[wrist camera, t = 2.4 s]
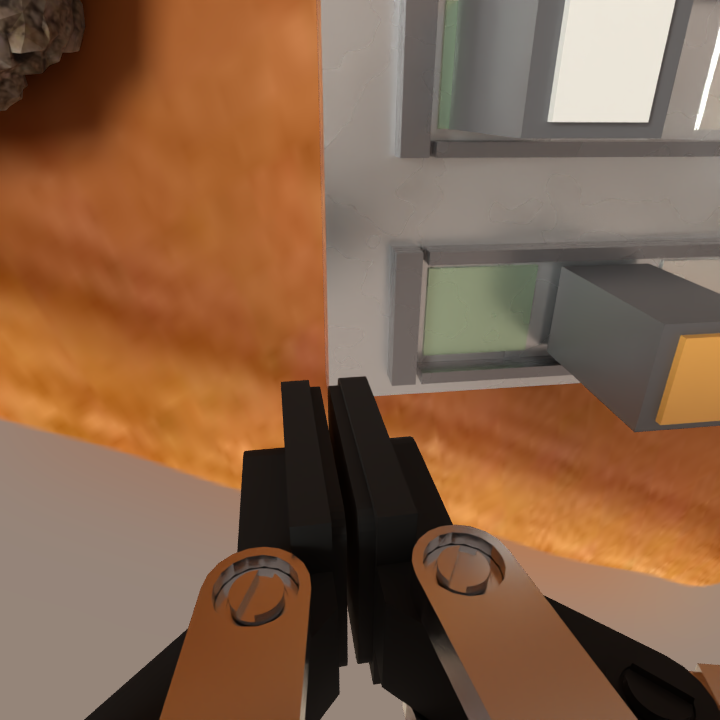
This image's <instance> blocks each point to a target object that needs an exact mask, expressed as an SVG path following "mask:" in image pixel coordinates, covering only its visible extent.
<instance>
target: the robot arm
mask: <svg viewBox="0 0 720 720" xmlns="http://www.w3.org/2000/svg"><path fill="white" fill-rule="evenodd" d="M281 392H282V409H283V426H284V443H285V448H274V449H262V450H251V451H244V455H243V470H242V486H241V503H240V519H239V536H238V551H237V553H235V554H232V555H231V556H229V557H228V558H226V559H225V560H223V561H221V562H220V563H218V565H217V566H216V567H215V568H214V569H213V570H212V571H211V572H210V573H209V574H208V575H207V577H206V579H205V581H204V583H203V585H202V587H201V589H200V593H199V596H198V599H197V602H196V605H195V608H194V611H193V615H192V618H191V621H190V624H189V627H188V629H187V630H186V631H185V632H183V633H182V634H181V635H180V636H179V637H178V638H177V639H175V640H174V641H173V642H172V643H171V644H170V645H169V646H167V647H166V648H165V649H164V650H163V651H162V652H161V653H160V654H158V655H157V656H156V657H155V658H154V659H153V660H152V661H150V662H149V663H148V664H147V665H146V666H145V667H144V668H142V669H141V670H140V671H139V672H138V673H137V674H136V675H134V676H133V677H132V678H131V679H130V680H129V681H128V682H126V683H125V684H124V685H123V686H122V687H121V688H120V689H119V690H117V691H116V692H115V693H114V694H113V695H112V696H111V697H110V698H108V699H107V700H106V701H105V702H104V703H103V704H101V705H100V706H99V707H98V708H97V709H96V710H95V711H94V712H93V713H91V714H90V715H89V716H88V717H87V718H86V719H84V720H320V719H321V718H322V716H323V715H324V714H325V712H326V711H327V710H328V708H329V707H330V706H331V704H332V703H333V702H334V700H335V699H336V698H337V696H338V695H339V667H341V666H347V662H348V658H347V655H348V654H347V606H348V612H349V618H350V624H351V630H352V636H353V642H354V648H355V654H356V659H357V663H358V664H362V663H368V662H369V664H370V670H371V675H372V681H373V684H380V683H381V685H382V687H383V688H384V689H386V690H387V691H389V692H390V693H391V694H393V695H394V696H396V697H397V698H398V699H400V700H401V701H402V706H403V711H404V715H405V719H406V720H720V665H711V664H699V663H698V664H697V666H696V668H695V670H694V672H693V671H688V670H687V669H685V668H684V667H683V666H681V665H680V664H678V663H676V662H675V661H673V660H672V659H670V658H668V657H667V656H665V655H663V654H661V653H659V652H657V651H655V650H653V649H651V648H649V647H647V646H645V645H643V644H641V643H639V642H637V641H635V640H633V639H631V638H629V637H627V636H625V635H623V634H621V633H619V632H617V631H615V630H613V629H611V628H609V627H607V626H605V625H603V624H600V623H599V622H596V621H595V620H593V619H591V618H589V617H587V616H585V615H583V614H581V613H579V612H576V611H574V610H572V609H570V608H568V607H566V606H564V605H562V604H560V603H558V602H556V601H554V600H552V599H550V598H548V597H546V596H544V595H543V594H542V593H541V592H540V590H539V589H538V588H537V587H536V585H535V584H534V582H533V581H532V580H531V578H530V577H529V576H528V574H527V573H526V572H525V571H524V569H523V568H522V567H521V565H520V564H519V563H518V561H517V560H516V559H515V557H514V556H513V555H512V553H510V551H509V550H508V549H507V548H506V547H505V546H504V545H503V544H502V543H501V542H500V541H499V540H498V539H497V538H495V537H493V536H492V535H490V534H489V533H487V532H485V531H482V530H479V529H476V528H473V527H471V526H462V525H453V524H452V522H451V520H450V517H449V515H448V513H447V511H446V509H445V506H444V504H443V502H442V500H441V497H440V495H439V493H438V491H437V489H436V486H435V484H434V482H433V480H432V477H431V475H430V473H429V471H428V469H427V466H426V464H425V462H424V460H423V458H422V455H421V453H420V451H419V449H418V446H417V444H416V442H415V440H414V439H413V437H410V436H409V437H398V438H389V435H388V433H387V430H386V428H385V425H384V422H383V420H382V417H381V414H380V412H379V409H378V406H377V404H376V401H375V398H374V396H373V393H372V390H371V388H370V385H369V382H368V380H367V378H366V376H360V377H346V378H338V385H334V386H328V421H329V430H328V425H327V420H326V414H325V409H324V404H323V399H322V394H321V389H320V387H310V386H309V380H303V381H289V382H281Z"/></svg>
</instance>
